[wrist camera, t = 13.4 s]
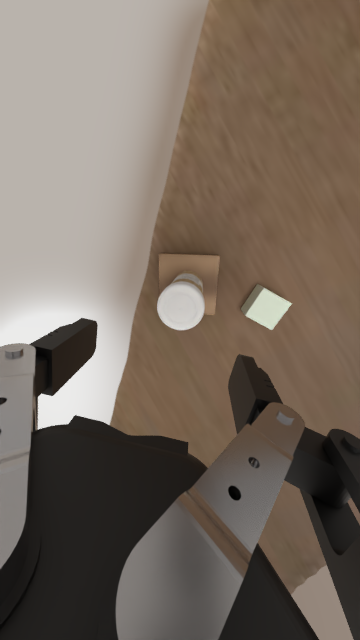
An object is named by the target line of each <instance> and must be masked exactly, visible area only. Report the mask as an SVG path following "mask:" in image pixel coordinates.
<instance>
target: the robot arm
mask: <svg viewBox="0 0 360 640" xmlns="http://www.w3.org/2000/svg"><path fill="white" fill-rule="evenodd" d="M96 338H97V323H96V321H93V320H88V319H84V318H81V319H79V320H78V321H76V322H75V323H73V324H69V325H66V326H62V327H59V328H58V329H56V330H54V331H53V332H50V333H49V334H48V335H46V336H43V337H42V338H40V339H38V340H36V341H35V342H33V343H31V344H29V345H28V344H20V343H19V344H10V345H5V346H2V347H0V640H319V639H318V637H317V636H316V634H315V632H314V631H313V629H312V628H311V626H310V625H309V623H308V621H307V620H306V618H305V617H304V615H303V614H302V612H301V610H300V609H299V607H298V606H297V604H296V603H295V601H294V600H293V598H292V597H291V595H290V593H289V592H288V590H287V588H286V587H285V585H284V584H283V582H282V581H281V579H280V577H279V576H278V574H277V573H276V571H275V570H274V568H273V566H272V565H271V563H270V562H269V560H268V559H267V557H266V555H265V554H264V552H263V551H262V549H261V548H260V546H259V544H258V543H257V542H258V540H259V537H260V535H261V533H262V530H263V528H264V526H265V523H266V521H267V519H268V516H269V514H270V512H271V509H272V507H273V505H274V502H275V500H276V497H277V495H278V493H279V490H280V488H281V486H282V483H283V481H284V480H285V481H287V482H289V483H290V484H292V485H294V486H296V487H298V488H299V489H300V491H301V494H302V497H303V499H304V502H305V505H306V508H307V510H308V513H309V516H310V519H311V522H312V524H313V527H314V530H315V533H316V536H317V538H318V541H319V544H320V547H321V550H322V552H323V555H324V558H325V561H326V563H327V566H328V569H329V571H330V574H331V577H332V580H333V583H334V586H335V589H336V591H337V594H338V597H339V600H340V602H341V605H342V608H343V611H344V614H345V616H346V619H347V622H348V625H349V627H350V630H351V633H352V636H353V639H354V640H360V525H359V523H358V522H357V520H356V518H355V516H354V514H353V512H352V510H351V508H350V506H349V505H348V503H347V502H348V500H349V499H350V498H352V500H353V502H354V503H355V505H356V507H357V509H358V511H359V513H360V439H358V438H357V437H355V436H354V435H352V434H350V433H348V432H346V431H343V430H340V429H332V430H330V432H329V433H328V435H327V436H324V435H321V434H319V433H317V432H315V431H313V430H311V429H308V428H306V427H305V423H304V420H303V419H302V417H301V416H300V415H299V414H298V413H297V412H296V411H294V410H293V409H292V408H290V407H288V406H286V405H284V404H283V403H282V401H281V399H280V397H279V395H278V393H277V391H276V389H275V388H274V386H273V384H272V383H271V380H270V378H269V376H268V374H266V373H265V372H264V371H263V370H262V369H261V368H258V367H257V365H256V363H255V360H254V358H253V357H249V356H244V355H240V354H239V355H238V356H237V358H236V361H235V364H234V367H233V370H232V373H231V376H230V379H229V384H228V389H229V395H230V400H231V405H232V410H233V415H234V421H235V426H236V431H237V436H236V437H235V438H234V439H233V440H232V441H231V443H230V444H229V445H228V446H227V447H226V448H225V450H224V451H223V452H222V453H221V454H220V455H219V456H218V458H217V459H216V460H215V461H214V462H213V463H212V465H211V466H210V467H209V468H207V467H206V466H205V465H204V464H203V463H202V462H201V461H200V460H198V459H197V458H195V457H194V456H192V455H191V454H189V453H188V442H184V441H180V440H176V439H172V438H167V437H163V436H130V435H127V434H125V433H123V432H121V431H119V430H117V429H115V428H113V427H111V426H109V425H107V424H106V423H104V422H101V421H96V420H92V419H88V418H84V417H80V416H76V415H75V416H74V417H73V419H72V420H71V421H70V423H69V424H67V425H55V426H50V427H46V428H42V429H39V430H38V429H37V428H38V396H39V395H40V394H41V393H42V394H46V395H51V396H53V395H54V394H55V393H56V392H57V391H58V390H59V389H60V388H61V387H62V386H63V385H64V384H65V383H66V382H67V381H68V380H69V379H70V378H71V377H72V376H73V375H74V374H75V373H76V372H77V371H78V370H79V369H80V368H81V367H82V366H83V365H84V364H85V363H86V362H87V361H88V360H89V359H90V358H91V357H92V356H93V354H94V352H95V349H96Z"/></svg>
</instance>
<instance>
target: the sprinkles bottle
mask: <svg viewBox="0 0 360 640" xmlns="http://www.w3.org/2000/svg"><path fill="white" fill-rule="evenodd" d="M157 310H158V314H159V317H160V318H161V320H162V321H163V322H164V323H165V324H166V325H167V326H168V327H170V328H172V329H176V330H187V329H190V328H192V327H194V326H196V325H197V324H198V323H199V322H200V320H201V319H202V317H203V315H204V310H205V302H204V297H203V282H202V280H201V278H200V276H199V275H198V274H197V273H195V272H192V271H184V272H182V273H180V274H179V275H177V277H176V278H175V279H174V281H173V282H172V283H171V284H170V285H169V286H167V287H166V288H165V289H164V290H163V292H162V293H161V295H160V297H159V299H158V303H157Z"/></svg>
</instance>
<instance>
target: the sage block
mask: <svg viewBox="0 0 360 640" xmlns="http://www.w3.org/2000/svg"><path fill="white" fill-rule="evenodd" d="M291 304H292V303H290V302H288V301H287V300H285V299H283V298H282V297H280V296H278V295H276V294H274V293H273V292H271V291H269V290H267V289H266V288H264V287H262V286H260V285H258V284H257V285H256V287H255V288H254V290H253V291H252V293H251V294H250V296H249V297H248V299H247V300H246V302H245V303H244V305H243V306H242V308H241V310H242V312H243V313H244V315H245V316H247V317H249V318H251V319H252V320H254V321H256V322H258V323H260V324H262V325H263V326H265V327H267V328H269V329H271V330H272V329H273V328H274V327H275V325H276V324H277V323H278V321H279V320H280V319H281V317H282V316H283V315H284V313H285V312H286V311H287V309H288V308H289V307H290V306H291Z"/></svg>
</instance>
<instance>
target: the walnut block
mask: <svg viewBox="0 0 360 640" xmlns="http://www.w3.org/2000/svg"><path fill="white" fill-rule="evenodd" d="M219 261H220V256H219V255H199V254H168V253H162V254H159V297H160V295H161V293H162V292H163V290H164V289H165V288H166V287H167V286H169V285H170V284H171V283H172V282H173V281H174V279H175V278H176V277H177V275H179V274H180V273H182V272H184V271H192V272H195V273H197V274H198V275H199V276H200V278H201V280H202V282H203V297H204V302H205V310H204V314H209V315H215V306H216V295H217V284H218V272H219Z"/></svg>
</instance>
